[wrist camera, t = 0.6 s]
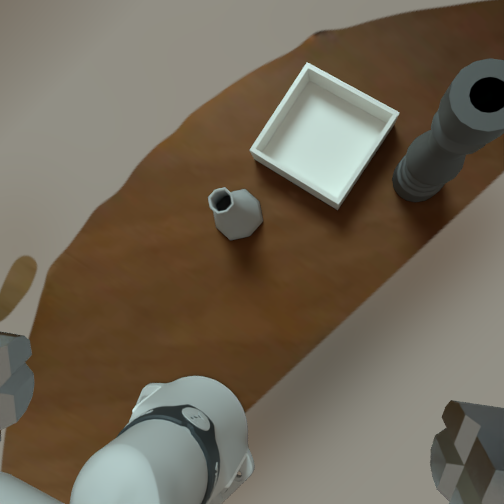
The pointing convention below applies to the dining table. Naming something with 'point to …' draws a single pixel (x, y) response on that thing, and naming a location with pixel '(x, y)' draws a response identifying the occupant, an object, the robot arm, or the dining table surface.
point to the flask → (235, 212)
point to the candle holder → (454, 131)
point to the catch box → (323, 135)
